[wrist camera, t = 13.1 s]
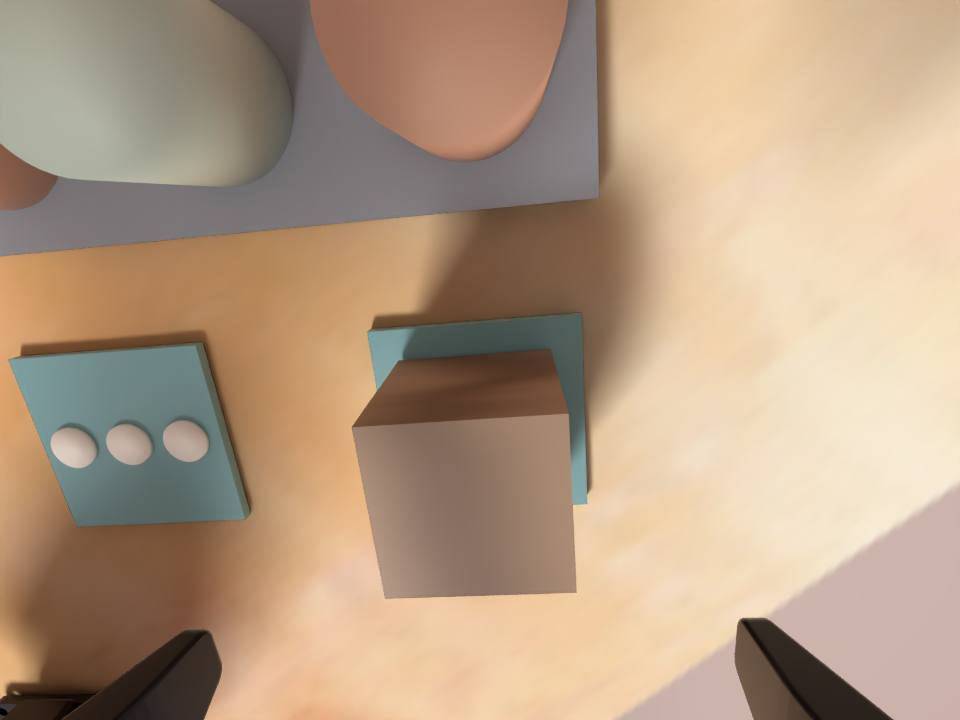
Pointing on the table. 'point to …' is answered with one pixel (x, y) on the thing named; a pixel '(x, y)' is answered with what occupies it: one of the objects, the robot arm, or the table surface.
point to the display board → (339, 160)
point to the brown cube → (470, 477)
